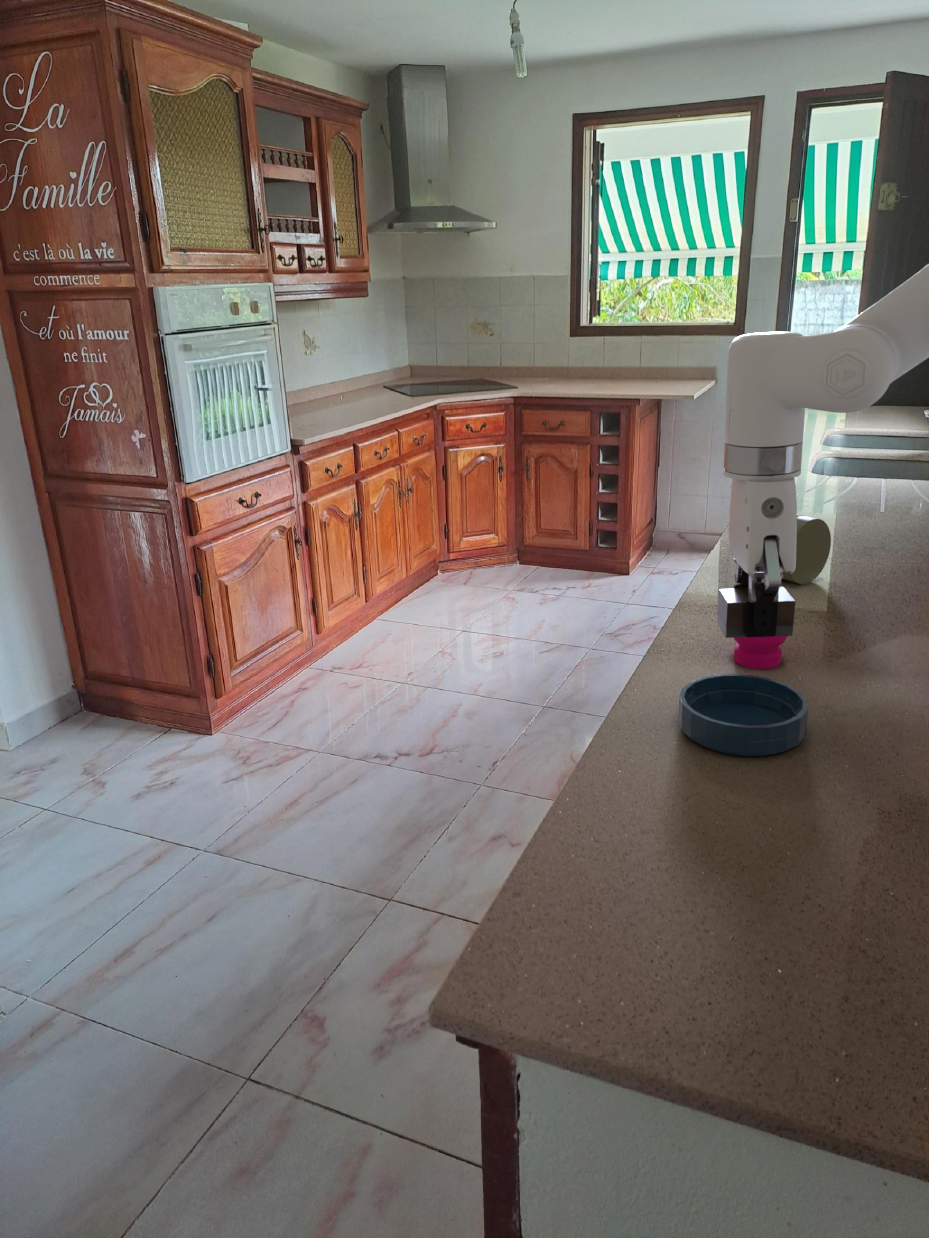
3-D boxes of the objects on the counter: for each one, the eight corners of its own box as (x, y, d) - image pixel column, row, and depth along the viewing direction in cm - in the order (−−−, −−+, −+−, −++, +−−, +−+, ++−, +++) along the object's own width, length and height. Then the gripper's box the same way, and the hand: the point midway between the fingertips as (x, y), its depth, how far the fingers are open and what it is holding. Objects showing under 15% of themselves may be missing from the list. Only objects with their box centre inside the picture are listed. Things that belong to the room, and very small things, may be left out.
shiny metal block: (781, 620, 98) (783, 586, 96) (792, 636, 94) (795, 600, 92) (717, 622, 98) (718, 588, 97) (725, 638, 94) (727, 603, 93)
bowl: (784, 701, 110) (787, 672, 108) (822, 758, 97) (825, 725, 95) (669, 704, 111) (670, 675, 109) (690, 761, 97) (692, 728, 96)
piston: (770, 561, 163) (774, 502, 159) (827, 576, 154) (833, 513, 150) (729, 574, 157) (733, 513, 153) (786, 590, 148) (791, 525, 144)
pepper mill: (751, 646, 127) (760, 510, 120) (795, 660, 121) (807, 519, 114) (719, 660, 123) (726, 520, 116) (763, 675, 117) (773, 530, 110)
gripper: (827, 474, 81) (812, 655, 88) (777, 444, 97) (768, 600, 103) (744, 478, 82) (736, 658, 88) (708, 448, 98) (703, 602, 104)
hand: (753, 625), depth 96 cm, fingers closed on shiny metal block, 4 cm apart
